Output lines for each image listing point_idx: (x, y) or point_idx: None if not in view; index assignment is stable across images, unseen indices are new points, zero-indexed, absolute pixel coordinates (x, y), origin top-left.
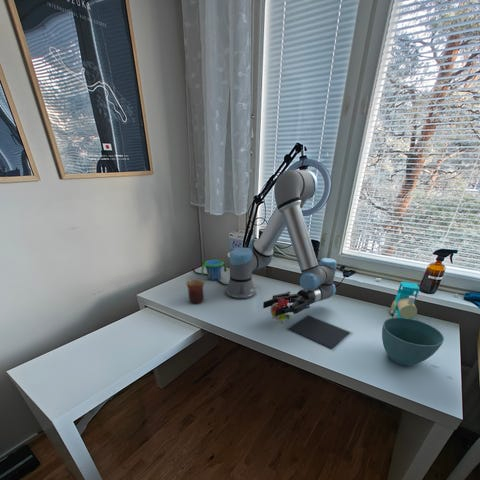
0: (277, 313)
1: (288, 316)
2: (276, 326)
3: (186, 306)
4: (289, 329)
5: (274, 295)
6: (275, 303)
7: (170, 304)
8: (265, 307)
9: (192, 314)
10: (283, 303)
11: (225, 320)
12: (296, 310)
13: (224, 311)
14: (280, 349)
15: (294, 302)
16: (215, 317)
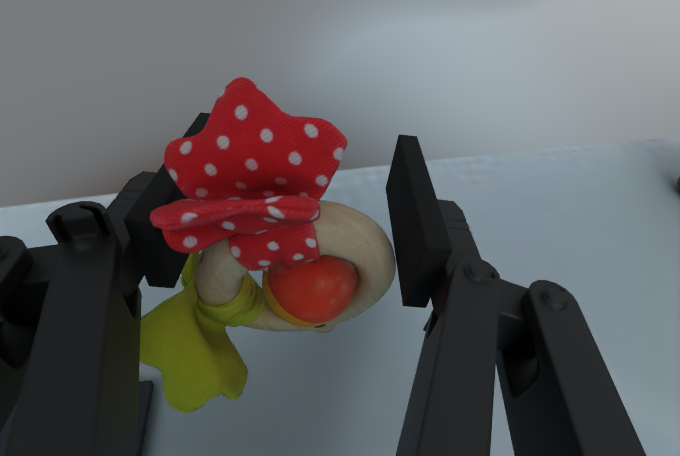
0: None
1: (170, 362)
2: (265, 336)
3: (644, 163)
4: (139, 383)
5: (576, 319)
6: (345, 206)
7: (661, 144)
8: (387, 193)
9: (565, 150)
10: (188, 137)
11: (480, 190)
12: (8, 367)
13: (582, 228)
14: (93, 197)
15: (89, 426)
16: (521, 180)
